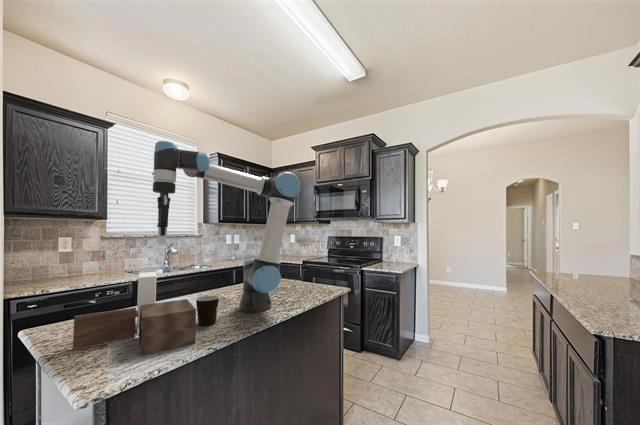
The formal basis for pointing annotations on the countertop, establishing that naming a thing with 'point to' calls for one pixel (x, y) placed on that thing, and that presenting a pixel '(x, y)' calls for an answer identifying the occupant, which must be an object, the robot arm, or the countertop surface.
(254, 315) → the countertop surface
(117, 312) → the door
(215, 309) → the coffee mug
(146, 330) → the cabinet
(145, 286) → the milk
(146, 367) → the countertop surface
